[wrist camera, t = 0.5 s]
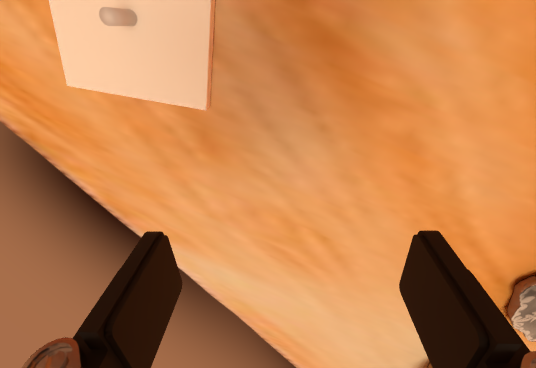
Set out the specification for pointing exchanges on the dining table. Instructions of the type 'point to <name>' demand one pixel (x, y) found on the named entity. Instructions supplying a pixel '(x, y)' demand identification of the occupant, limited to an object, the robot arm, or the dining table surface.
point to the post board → (138, 48)
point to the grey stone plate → (524, 307)
